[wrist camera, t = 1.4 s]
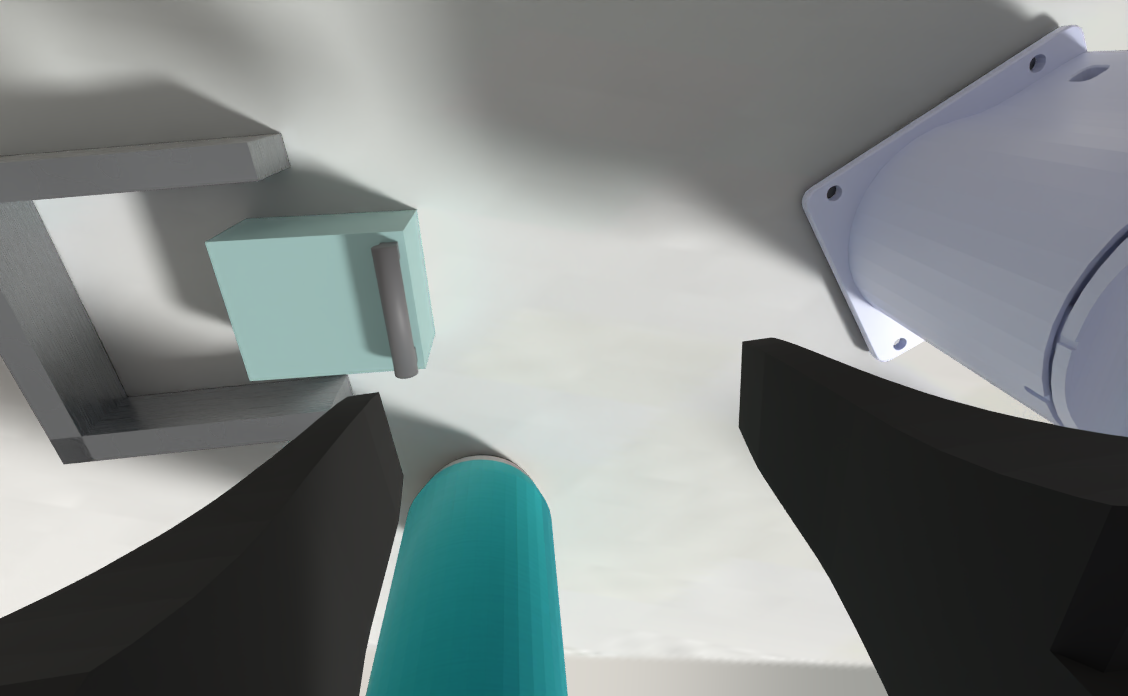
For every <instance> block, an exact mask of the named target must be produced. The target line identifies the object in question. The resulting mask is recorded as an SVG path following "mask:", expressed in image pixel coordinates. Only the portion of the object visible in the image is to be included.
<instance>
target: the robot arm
mask: <svg viewBox="0 0 1128 696" xmlns="http://www.w3.org/2000/svg"><path fill="white" fill-rule="evenodd" d="M1034 57H1035V58H1036V61H1035V65H1034V67H1033V68H1032V69H1031V70H1030V69H1029V67H1030V62H1031V60H1032V59H1033V58H1034ZM832 186H836V192H835V195H834V196H833V197H831V198H829V199H828V198H827V192H828V190H829V189H830V188H831V187H832ZM802 206H803V209H804V212H805V214H806V216H807V218H808V220H809V222H810V224H811V227H812V229H813V231H814V233H815V235H816V237H817V239H818V241H819V244H820V246H821V248H822V250H823V252H824V254H825V256H826V259H827V261H828V263H829V265H830V267H831V269H832V271H833V274H834V276H835V278H836V280H837V282H838V284H839V286H840V289H841V291H842V293H843V295H844V297H845V299H846V301H847V304H848V306H849V308H850V310H851V312H852V314H853V316H854V319H855V321H856V323H857V325H858V327H859V329H860V331H861V334H862V336H863V338H864V340H865V342H866V344H867V346H868V348H869V351H870V353H871V354H872V356H873V357H874V358H876V359H877V360H879V361H881V362H884V361H889V360H891V359H893V358H895V357H897V356H898V355H900V354H902V353H904V352H905V351H907V350H909V349H911V348H912V347H914V346H916V345H918V344H920V343H921V342H923V341H926V342H928V343H930V344H931V345H933V346H934V347H936V348H937V349H939V350H940V351H942V352H943V353H945V354H946V355H948V356H950V357H951V358H953V359H954V360H956V361H957V362H959V363H960V364H962V365H963V366H965V367H967V368H968V369H970V370H971V371H973V372H974V373H976V374H977V375H979V376H980V377H982V378H983V379H985V380H987V381H988V382H990V383H991V384H993V385H994V386H996V387H997V388H999V389H1000V390H1002V391H1004V392H1005V393H1007V394H1008V395H1010V396H1011V397H1013V398H1014V399H1016V400H1017V401H1019V402H1020V403H1022V404H1024V405H1025V406H1027V407H1028V408H1030V409H1031V410H1033V411H1034V412H1036V413H1037V414H1039V415H1041V416H1042V417H1044V418H1045V419H1047V420H1048V421H1050V422H1051V423H1053V424H1054V425H1053V424H1048V423H1043V422H1038V421H1033V420H1028V419H1023V418H1018V417H1014V416H1010V415H1005V414H1001V413H997V412H992V411H988V410H985V409H981V408H977V407H973V406H970V405H966V404H962V403H958V402H955V401H951V400H947V399H944V398H940V397H937V396H934V395H931V394H927V393H924V392H921V391H918V390H915V389H912V388H909V387H906V386H903V385H900V384H897V383H894V382H892V381H889V380H886V379H883V378H880V377H878V376H875V375H872V374H870V373H867V372H864V371H862V370H859V369H856V368H854V367H851V366H849V365H846V364H844V363H841V362H839V361H836V360H834V359H831V358H829V357H826V356H824V355H821V354H819V353H816V352H813V351H811V350H808V349H806V348H803V347H801V346H798V345H795V344H792V343H790V342H787V341H783V340H780V339H776V338H765V339H758V340H751V341H744V342H742V364H741V388H740V411H739V429H740V431H741V433H742V435H743V438H744V440H745V442H746V444H747V447H748V449H749V451H750V453H751V455H752V457H753V459H754V461H755V463H756V465H757V467H758V469H759V471H760V472H761V474H762V475H763V477H764V478H765V480H766V481H767V483H768V485H769V486H770V488H771V489H772V491H773V492H774V494H775V495H776V497H777V498H778V500H779V501H780V503H781V504H782V506H783V507H784V509H785V510H786V512H787V513H788V515H789V516H790V518H791V519H792V521H793V522H794V524H795V525H796V527H797V528H798V530H799V531H800V533H801V534H802V536H803V537H804V539H805V540H806V542H807V543H808V545H809V546H810V548H811V549H812V551H813V552H814V554H815V555H816V557H817V558H818V560H819V562H820V563H821V565H822V567H823V568H824V570H825V572H826V573H827V575H828V577H829V578H830V580H831V582H832V584H833V586H834V588H835V590H836V591H837V593H838V595H839V597H840V599H841V601H842V603H843V605H844V607H845V609H846V611H847V612H848V614H849V616H850V618H851V620H852V622H853V624H854V626H855V628H856V630H857V632H858V634H859V636H860V638H861V640H862V642H863V644H864V646H865V648H866V650H867V652H868V654H869V656H870V658H871V660H872V662H873V664H874V666H875V668H876V670H877V673H878V675H879V677H880V678H881V681H882V683H883V685H884V687H885V689H886V691H887V694H888V696H1128V50H1120V51H1091V52H1087V47H1086V42H1085V37H1084V33H1083V30H1082V28H1081V27H1079V26H1077V25H1068V26H1061V27H1059V28H1057V29H1055V30H1054V31H1052V32H1050V33H1049V34H1047V35H1046V36H1044V37H1043V38H1041V39H1040V40H1038V41H1037V42H1035V43H1033V44H1032V45H1030V46H1029V47H1027V48H1026V49H1024V50H1023V51H1021V52H1020V53H1018V54H1016V55H1015V56H1013V57H1012V58H1010V59H1009V60H1007V61H1006V62H1004V63H1002V64H1001V65H999V66H998V67H996V68H995V69H993V70H992V71H990V72H989V73H987V74H985V75H984V76H982V77H981V78H979V79H978V80H976V81H975V82H973V83H972V84H970V85H968V86H967V87H965V88H964V89H962V90H961V91H959V92H958V93H956V94H955V95H953V96H951V97H950V98H948V99H947V100H945V101H944V102H942V103H941V104H939V105H938V106H936V107H934V108H933V109H931V110H930V111H928V112H927V113H925V114H924V115H922V116H921V117H919V118H917V119H916V120H914V121H913V122H911V123H910V124H908V125H907V126H905V127H904V128H902V129H900V130H899V131H897V132H896V133H894V134H893V135H891V136H890V137H888V138H886V139H885V140H883V141H882V142H880V143H879V144H877V145H876V146H874V147H873V148H871V149H869V150H868V151H866V152H865V153H863V154H862V155H860V156H859V157H857V158H856V159H854V160H852V161H851V162H849V163H848V164H846V165H845V166H843V167H842V168H840V169H839V170H837V171H835V172H834V173H832V174H831V175H829V176H828V177H826V178H825V179H823V180H822V181H820V182H818V183H817V184H815V185H814V186H812V187H811V188H810V189H808V190H807V191H806V193H805V194H804V196H803V199H802ZM899 338H900V341H899V342H898V343H897V344H896V345H893V344H894V342H895V341H896V340H897V339H899ZM402 485H403V473H402V470H401V466H400V463H399V459H398V456H397V453H396V449H395V446H394V442H393V439H392V435H391V432H390V429H389V425H388V422H387V418H386V415H385V411H384V408H383V405H382V401H381V398H380V394H379V392H377V393H370V394H363V395H356V396H348V397H346V398H345V399H343V400H342V401H340V402H339V403H337V404H336V405H335V406H333V407H332V408H331V409H330V410H328V411H327V412H326V413H325V414H324V415H322V416H321V417H320V418H319V419H318V420H316V421H315V422H314V423H313V424H312V425H310V426H309V427H308V428H307V429H306V430H304V431H303V432H302V433H301V434H300V435H298V436H297V437H296V438H295V439H294V440H292V441H291V442H290V443H289V444H288V445H286V446H285V447H284V448H283V449H282V450H280V451H279V452H278V453H277V454H275V455H274V456H273V457H272V458H270V459H269V460H268V461H266V462H265V463H264V464H262V465H261V466H260V467H259V468H257V469H256V470H255V471H253V472H252V473H251V474H249V475H248V476H247V477H245V478H244V479H243V480H242V481H240V482H239V483H238V484H236V485H235V486H234V487H232V488H231V489H230V490H228V491H227V492H225V493H224V494H223V495H221V496H220V497H218V498H217V499H216V500H214V501H213V502H211V503H210V504H208V505H207V506H205V507H204V508H202V509H201V510H199V511H198V512H196V513H195V514H193V515H191V516H190V517H188V518H187V519H185V520H184V521H182V522H181V523H179V524H178V525H176V526H174V527H173V528H171V529H170V530H168V531H166V532H165V533H163V534H161V535H160V536H158V537H156V538H154V539H153V540H151V541H149V542H147V543H146V544H144V545H142V546H140V547H138V548H137V549H135V550H133V551H131V552H130V553H128V554H126V555H124V556H123V557H121V558H119V559H117V560H115V561H114V562H112V563H110V564H108V565H107V566H105V567H103V568H101V569H100V570H98V571H96V572H94V573H92V574H90V575H88V576H86V577H84V578H82V579H80V580H78V581H76V582H74V583H73V584H71V585H69V586H67V587H65V588H63V589H61V590H59V591H57V592H55V593H53V594H51V595H49V596H47V597H44V598H42V599H40V600H38V601H36V602H34V603H32V604H30V605H28V606H26V607H24V608H21V609H19V610H17V611H15V612H13V613H11V614H9V615H7V616H4V617H2V618H0V696H359V693H360V686H361V679H362V672H363V666H364V659H365V653H366V649H367V644H368V639H369V635H370V630H371V626H372V622H373V618H374V614H375V610H376V607H377V603H378V599H379V595H380V591H381V588H382V584H383V580H384V576H385V572H386V569H387V565H388V561H389V557H390V553H391V549H392V545H393V541H394V537H395V533H396V529H397V525H398V521H399V513H400V505H401V496H402Z"/></svg>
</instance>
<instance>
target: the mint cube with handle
mask: <svg viewBox="0 0 1128 696" xmlns="http://www.w3.org/2000/svg"><path fill="white" fill-rule="evenodd" d="M205 244H206V247H207V250H208V254H209V257H210V260H211V263H212V266H213V269H214V272H215V275H216V278H217V281H218V284H219V288H220V291H221V294H222V297H223V300H224V303H225V306H226V309H227V312H228V315H229V318H230V321H231V325H232V328H233V331H234V334H235V337H236V340H237V343H238V346H239V349H240V352H241V355H242V358H243V362H244V365H245V368H246V371H247V374H248V377H249V380H250V381H260V380H274V379H287V378H301V377H315V376H329V375H342V374H356V373H370V372H384V371H394V372H395V376H396V377H397V378H400V379H406V378H411V377H413V376H415V375H417V374H418V369H425V368H426V365H427V361H428V357H429V354H430V350H431V347H432V343H433V339H434V336H435V328H434V321H433V314H432V308H431V301H430V294H429V288H428V281H427V274H426V268H425V261H424V254H423V247H422V241H421V234H420V227H419V221H418V214H417V210H400V211H381V212H363V213H344V214H325V215H306V216H288V217H269V218H250V219H245V220H243V221H241V222H239V223H238V224H236V225H234V226H232V227H231V228H229V229H227V230H225V231H224V232H222V233H220V234H218V235H217V236H215V237H213V238H211V239H210V240H208V241H206V242H205Z"/></svg>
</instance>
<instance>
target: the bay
mask: <svg viewBox="0 0 1128 696" xmlns="http://www.w3.org/2000/svg"><path fill="white" fill-rule="evenodd" d="M287 168H290V164H289V160H288V156H287V153H286V149H285V146H284V142H283V138H282V135H281V133H280V134H267V135H255V136H243V137H231V138H219V139H206V140H194V141H182V142H170V143H157V144H145V145H133V146H121V147H109V148H96V149H84V150H72V151H60V152H47V153H35V154H23V155H11V156H0V355H1V357H2V358H3V360H4V362H5V363H6V365H7V367H8V369H9V370H10V372H11V374H12V376H13V377H14V379H15V381H16V382H17V384H18V386H19V388H20V389H21V391H22V393H23V395H24V396H25V398H26V400H27V402H28V403H29V405H30V407H31V408H32V410H33V412H34V414H35V415H36V417H37V419H38V421H39V422H40V424H41V426H42V427H43V429H44V431H45V433H46V434H47V436H48V438H49V440H50V441H51V443H52V445H53V446H54V448H55V450H56V452H57V453H58V455H59V457H60V459H61V460H62V462H63V464H71V463H81V462H90V461H100V460H109V459H118V458H128V457H137V456H147V455H156V454H165V453H175V452H184V451H194V450H203V449H213V448H222V447H231V446H241V445H250V444H260V443H269V442H278V441H288V440H294V439H295V438H296V437H297V436H298V435H300V434H301V433H302V432H303V431H304V430H306V429H307V428H308V427H309V426H310V425H312V424H313V423H314V422H315V421H316V420H318V419H319V418H320V417H321V416H322V415H324V414H325V413H326V412H327V411H328V410H330V409H331V408H332V407H333V406H335V405H336V404H337V403H339V402H340V401H342V400H343V399H345V398H346V397H348V396H353V393H352V389H351V385H350V382H349V378H348V375H341V376H331V377H321V378H311V379H301V380H291V381H282V382H272V383H262V384H252V385H242V386H232V387H222V388H213V389H203V390H193V391H183V392H173V393H163V394H153V395H144V396H134V397H127V395H126V393H125V391H124V389H123V387H122V385H121V383H120V381H119V379H118V377H117V374H116V372H115V370H114V368H113V366H112V364H111V362H110V360H109V358H108V356H107V354H106V352H105V350H104V348H103V346H102V343H101V341H100V339H99V337H98V335H97V333H96V331H95V329H94V327H93V325H92V323H91V321H90V319H89V317H88V315H87V312H86V310H85V308H84V306H83V304H82V302H81V300H80V298H79V296H78V294H77V292H76V290H75V288H74V286H73V284H72V281H71V279H70V277H69V275H68V273H67V271H66V269H65V267H64V265H63V263H62V261H61V259H60V257H59V255H58V252H57V250H56V248H55V246H54V244H53V242H52V240H51V238H50V236H49V234H48V232H47V230H46V228H45V226H44V224H43V221H42V219H41V217H40V215H39V213H38V211H37V209H36V207H35V205H34V203H33V201H32V200H41V199H52V198H64V197H76V196H87V195H99V194H111V193H123V192H134V191H146V190H158V189H169V188H181V187H193V186H204V185H216V184H228V183H240V182H251V181H260V180H262V179H264V178H267V177H269V176H271V175H273V174H276V173H278V172H280V171H283V170H285V169H287Z"/></svg>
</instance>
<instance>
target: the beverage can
mask: <svg viewBox="0 0 1128 696" xmlns="http://www.w3.org/2000/svg"><path fill="white" fill-rule="evenodd" d="M366 696H568V694H567V684H566V673H565V662H564V651H563V640H562V629H561V618H560V607H559V597H558V586H557V575H556V564H555V553H554V542H553V531H552V521H551V515H550V510H549V508H548V505H547V503H546V501H545V499H544V497H543V496H542V494H541V493H540V491H539V490H538V488H537V487H536V485H535V484H534V482H533V481H532V480H531V478H530V477H529V476H528V475H527V474H526V472H525V471H524V470H523V469H521V468H520V467H519V466H517V465H516V464H514V463H512V462H510V461H508V460H505V459H503V458H499V457H494V456H486V455H477V456H469V457H464V458H461V459H458V460H455V461H453V462H451V463H449V464H448V465H446V466H444V467H443V468H442V469H441V470H440V471H438V472H437V473H436V474H435V475H434V476H433V477H432V478H431V479H430V481H429V482H428V483H427V484H426V485H425V486H424V488H423V489H422V490H421V491H420V493H419V494H418V495H417V496H416V498H415V499H414V501H413V503H412V505H411V507H410V509H409V512H408V516H407V519H406V524H405V528H404V532H403V537H402V541H401V545H400V550H399V554H398V558H397V563H396V567H395V571H394V576H393V580H392V584H391V589H390V593H389V597H388V602H387V606H386V610H385V614H384V619H383V623H382V627H381V632H380V636H379V640H378V645H377V649H376V653H375V658H374V662H373V666H372V671H371V675H370V679H369V684H368V688H367V693H366Z"/></svg>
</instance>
